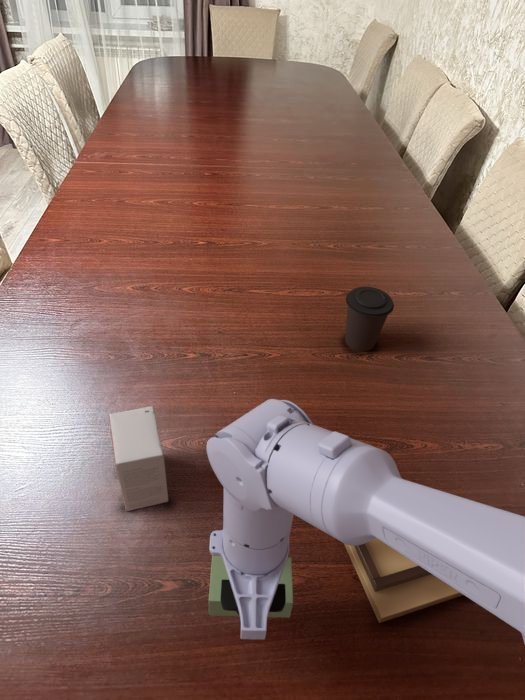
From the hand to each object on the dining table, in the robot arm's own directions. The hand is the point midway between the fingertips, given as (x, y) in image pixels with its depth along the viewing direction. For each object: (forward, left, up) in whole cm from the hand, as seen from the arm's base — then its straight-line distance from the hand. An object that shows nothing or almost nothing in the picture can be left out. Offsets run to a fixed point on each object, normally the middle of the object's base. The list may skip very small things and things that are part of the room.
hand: (250, 587), depth 52 cm
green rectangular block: (0, 0, -1) cm, 1 cm away
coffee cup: (+39, -32, -8) cm, 52 cm away
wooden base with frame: (+2, -20, -8) cm, 22 cm away
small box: (+20, +9, -8) cm, 24 cm away
